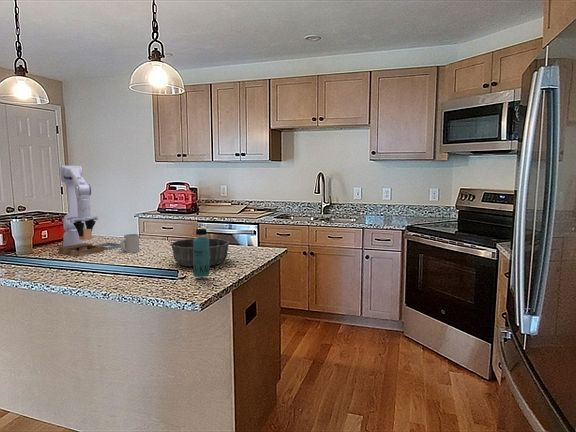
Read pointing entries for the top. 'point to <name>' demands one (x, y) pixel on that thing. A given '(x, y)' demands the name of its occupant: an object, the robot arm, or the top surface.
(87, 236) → the stone block
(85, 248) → the flat stone
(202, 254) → the beverage bottle
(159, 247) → the top surface
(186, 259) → the bundt pan
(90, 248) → the wooden pallet
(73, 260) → the top surface
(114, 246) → the dump tray
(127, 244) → the cup
